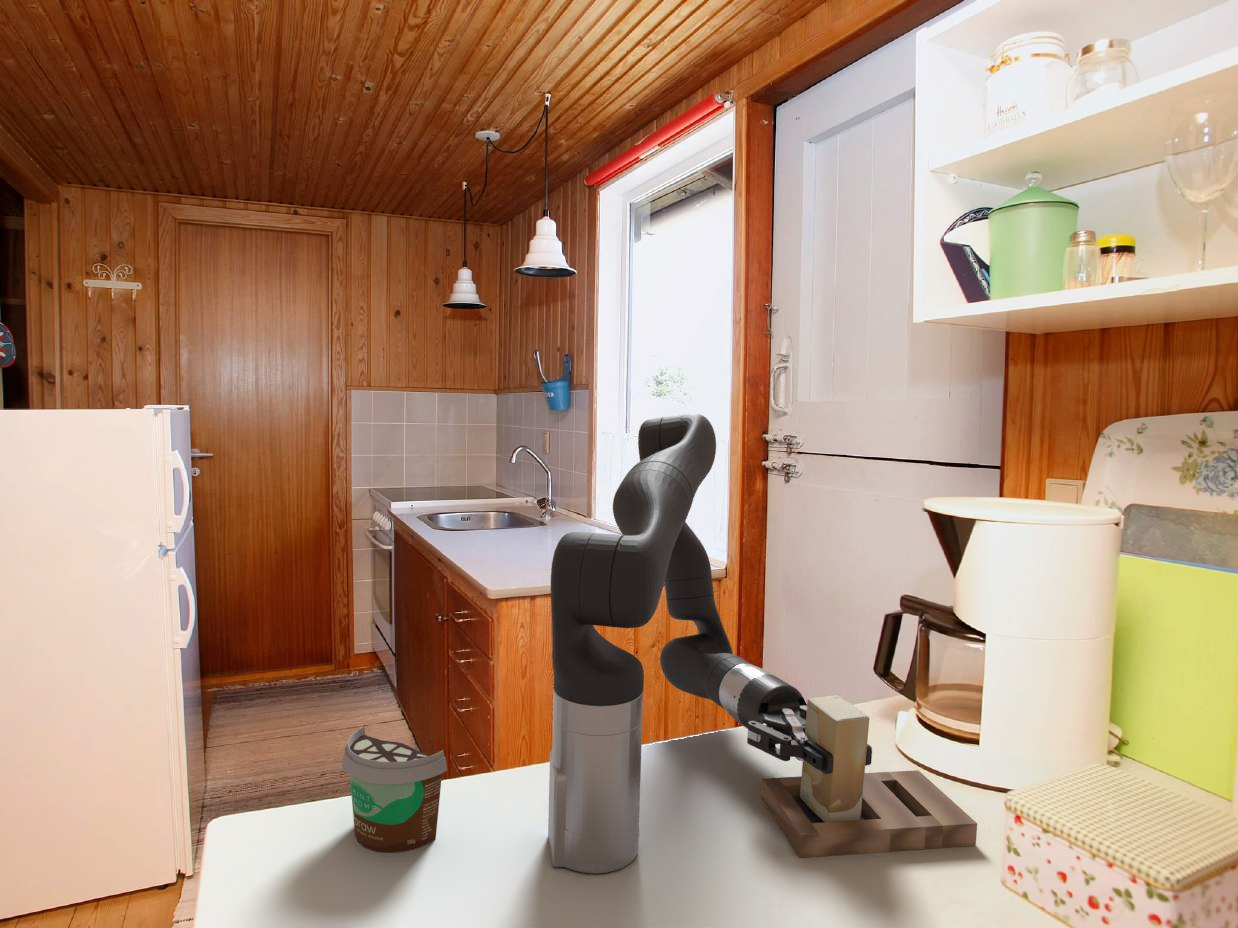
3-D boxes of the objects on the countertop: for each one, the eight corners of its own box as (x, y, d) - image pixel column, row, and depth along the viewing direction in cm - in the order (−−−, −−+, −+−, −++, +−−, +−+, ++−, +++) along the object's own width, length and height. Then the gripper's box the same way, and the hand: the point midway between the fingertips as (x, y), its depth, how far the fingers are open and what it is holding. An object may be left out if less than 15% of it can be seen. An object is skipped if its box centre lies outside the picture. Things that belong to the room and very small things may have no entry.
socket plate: (799, 857, 83) (800, 834, 82) (760, 798, 94) (762, 778, 94) (975, 845, 86) (977, 823, 86) (917, 789, 98) (918, 770, 97)
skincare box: (798, 798, 92) (804, 696, 91) (831, 793, 93) (837, 692, 92) (829, 828, 86) (836, 719, 85) (863, 822, 87) (871, 715, 86)
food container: (316, 837, 84) (315, 746, 83) (360, 810, 89) (360, 724, 88) (405, 873, 78) (405, 775, 77) (446, 842, 84) (447, 751, 83)
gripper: (713, 680, 98) (798, 738, 83) (807, 666, 104) (903, 718, 89) (710, 738, 99) (794, 806, 84) (804, 721, 105) (898, 782, 90)
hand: (849, 760), depth 86 cm, fingers closed on skincare box, 4 cm apart
